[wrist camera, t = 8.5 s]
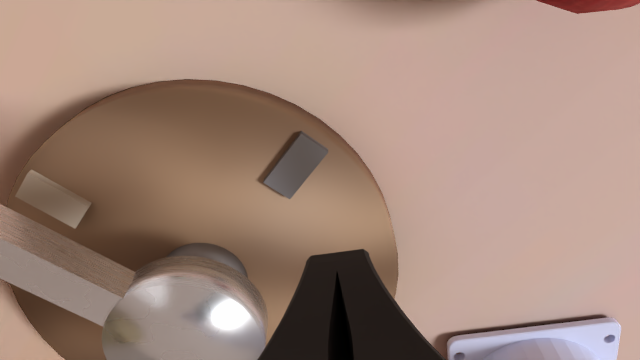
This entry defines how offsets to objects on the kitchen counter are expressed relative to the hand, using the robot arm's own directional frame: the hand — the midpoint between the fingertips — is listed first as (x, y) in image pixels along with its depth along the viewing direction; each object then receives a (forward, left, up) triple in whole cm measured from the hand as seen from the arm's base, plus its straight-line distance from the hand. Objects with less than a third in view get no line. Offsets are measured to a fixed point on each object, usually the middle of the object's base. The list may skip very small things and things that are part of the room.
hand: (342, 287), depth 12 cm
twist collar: (-2, +9, -6) cm, 11 cm away
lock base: (-5, +6, -9) cm, 12 cm away
